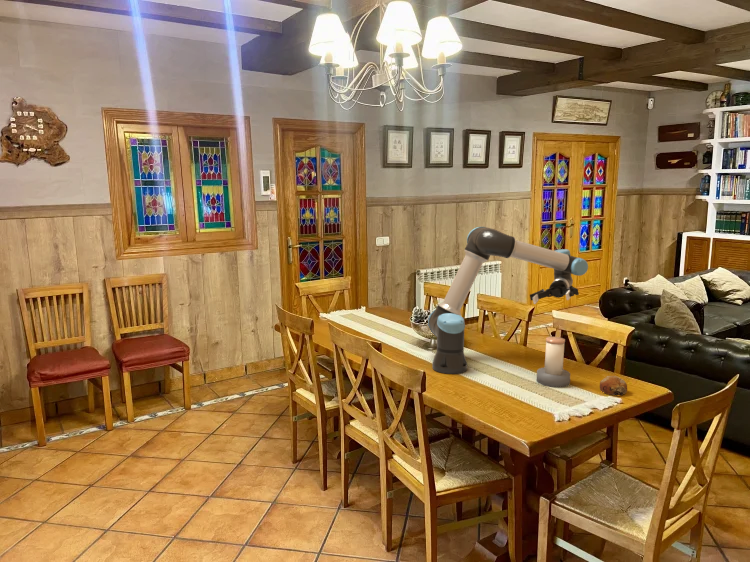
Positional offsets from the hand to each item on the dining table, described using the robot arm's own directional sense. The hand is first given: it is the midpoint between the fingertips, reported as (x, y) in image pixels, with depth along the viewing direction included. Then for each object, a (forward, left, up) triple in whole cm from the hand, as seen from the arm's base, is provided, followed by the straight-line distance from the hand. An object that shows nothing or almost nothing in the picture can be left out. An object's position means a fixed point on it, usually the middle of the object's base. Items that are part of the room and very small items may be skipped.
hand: (550, 299), depth 230 cm
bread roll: (+14, -25, -33) cm, 44 cm away
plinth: (-2, -9, -33) cm, 34 cm away
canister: (-3, -9, -29) cm, 30 cm away
